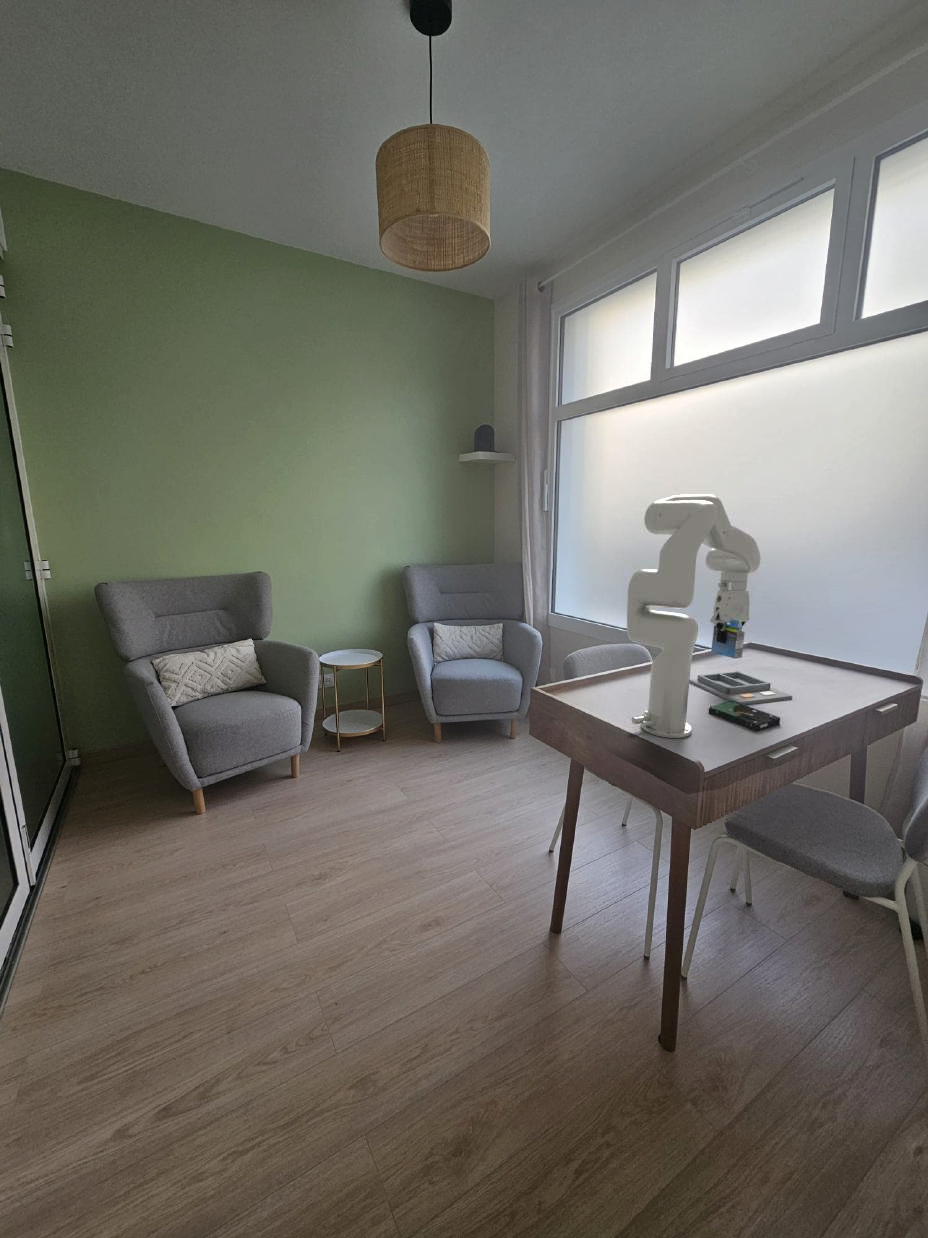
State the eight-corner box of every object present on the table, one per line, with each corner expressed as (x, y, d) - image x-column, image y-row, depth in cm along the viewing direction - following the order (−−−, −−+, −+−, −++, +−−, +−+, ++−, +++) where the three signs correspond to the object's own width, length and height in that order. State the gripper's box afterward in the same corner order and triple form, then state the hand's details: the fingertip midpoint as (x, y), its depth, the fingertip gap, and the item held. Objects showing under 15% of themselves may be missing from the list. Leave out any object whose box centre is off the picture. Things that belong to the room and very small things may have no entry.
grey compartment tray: (739, 705, 152) (740, 696, 152) (689, 682, 173) (689, 674, 172) (792, 698, 157) (793, 689, 157) (737, 677, 178) (738, 669, 178)
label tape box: (742, 657, 161) (747, 620, 159) (733, 659, 159) (738, 620, 157) (718, 651, 169) (723, 615, 167) (709, 652, 167) (714, 615, 165)
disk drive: (780, 727, 138) (730, 708, 151) (781, 717, 138) (731, 699, 151) (756, 734, 134) (707, 714, 147) (757, 724, 133) (708, 705, 146)
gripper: (719, 588, 154) (714, 646, 158) (764, 586, 158) (758, 642, 162) (702, 585, 161) (697, 641, 165) (745, 583, 165) (739, 637, 169)
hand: (727, 641), depth 163 cm, fingers closed on label tape box, 4 cm apart
